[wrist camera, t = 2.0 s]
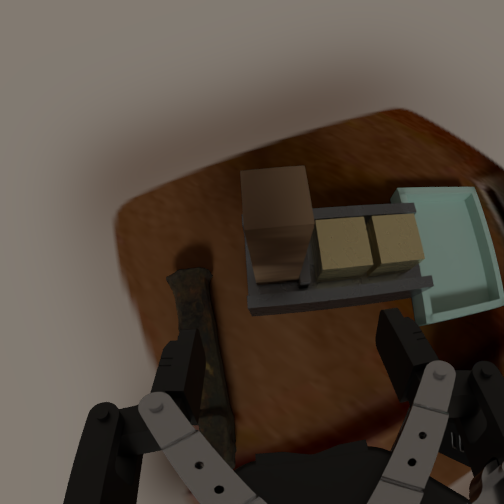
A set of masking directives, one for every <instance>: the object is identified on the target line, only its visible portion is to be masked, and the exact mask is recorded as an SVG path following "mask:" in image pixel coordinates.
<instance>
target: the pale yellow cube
mask: <svg viewBox="0 0 504 504" xmlns="http://www.w3.org/2000/svg"><path fill="white" fill-rule="evenodd" d="M310 242H311V249H312V256H313V264H314V271H315V279H316V282H326V281H335V280H344V279H353V278H360V277H361V276H362V275H363V274H364V273H365V272H366V271H367V270H368V269H369V268H370V267H371V266H372V265H373V260H372V255H371V249H370V244H369V239H368V234H367V230H366V225H365V220H364V217H351V218H337V219H324V220H315V225H314V228H313V232H312V235H311V239H310Z"/></svg>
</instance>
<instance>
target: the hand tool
mask: <svg viewBox="0 0 504 504" xmlns="http://www.w3.org/2000/svg"><path fill="white" fill-rule="evenodd" d="M212 276H213V275H212V274H211V272H210V271H209V270H208V269H205V268H201V267H198V268H190V269H180V270H177V271H176V272H175V273H173V274H171V275H170V276H168V277H166V280H167V282H168V284H169V285H170V287H171V289H172V290H173V294H174V296H175V301H176V309H177V313H178V319H179V328H178V329H179V332H180V330H181V329H193V328H198V330H199V332H200V336H201V340H202V344H203V348H204V351H205V356H206V369H205V376H204V384H203V391H202V398H201V406H200V414H199V421H198V425H199V430H200V432H201V434H202V435H203V436H204V437H205V439H206V440H207V441H208V442H209V443H210V445H211V446H212V447H213V448H214V449H215V451H216V452H217V453H218V454H219V455H220V456H221V457H222V459H223V460H224V461H225V462H226V463H227V464H228V465H229V466H230V468H231V469H233V468H235V453H236V446H235V442H236V439H235V432H234V428H235V426H234V416H233V414H232V412H231V408H230V404H229V399H228V393H227V387H226V382H225V376H224V370H223V364H222V360H221V356H220V351H219V345H218V336H217V328H216V322H215V319H214V313H213V309H212V306H211V300H210V293H209V281H210V279H211V278H212Z"/></svg>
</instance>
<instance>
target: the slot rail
mask: <svg viewBox="0 0 504 504" xmlns="http://www.w3.org/2000/svg"><path fill="white" fill-rule="evenodd" d="M312 210H313V216H314V222H315V220H324V219H337V218H351V217H364V220H365V225H366V224H367V223H368V221H369V219H370V218H371V216H380V215H396V214H413V213H414V215H415V214H416V208H415V205H414V203H393V204H374V205H357V206H341V207H327V208H313V209H312ZM242 226H243V230H244V223H243V215H242ZM244 235H245V232H244ZM245 249H246V264H247V279H248V293H249V296H247V302H248V309H249V311H250V313H251V315H252V316H263V315H274V314H285V313H296V312H306V311H315V310H324V309H333V308H341V307H349V306H357V305H365V304H372V303H379V302H386V301H393V300H399V299H406V298H412V297H414V296H416V295H418V294H420V293H422V292H424V291H426V290H428V289H430V288H431V287H433V286H434V284H433V279H432V275H429V276H421V271H420V266H419V264H417V265H416V266H415V267H413V268H412V269H410V270H409V271H408V272H404V273H396V274H388V275H379V276H371V277H367V271H366V272H365V273H364V274H363V275H362V276H361V277H360V278H353V279H344V280H335V281H326V282H316V279H315V271H314V264H313V256H312V249H311V242H309V246H308V249H307V254H308V261H309V269H310V277H311V282H310V284H309V286H308V288H302V289H298V281H297V282H286V283H275V284H264V285H257V284H256V280H255V275H254V271H253V267H252V262H251V258H250V254H249V250H248V245H247V241H246V237H245Z"/></svg>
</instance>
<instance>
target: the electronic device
mask: <svg viewBox="0 0 504 504" xmlns="http://www.w3.org/2000/svg"><path fill="white" fill-rule="evenodd" d="M438 452H440V453H442V454H444V455H446V456H448V457H450V458H452V459H454V460H456V461H458V462H460V463H462V464H465V465H467V466H469V467H471V466H470V463H469V461H468V458H467V455H466V452H465V449H464V446H463V444H462V441H461V438H460V436H459V433H458V430H457V428H456V425H455V423H454V420H453V418H448V421H447V425H446V428H445V432H444V435H443V438H442V441H441V444H440V447H439V450H438Z"/></svg>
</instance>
